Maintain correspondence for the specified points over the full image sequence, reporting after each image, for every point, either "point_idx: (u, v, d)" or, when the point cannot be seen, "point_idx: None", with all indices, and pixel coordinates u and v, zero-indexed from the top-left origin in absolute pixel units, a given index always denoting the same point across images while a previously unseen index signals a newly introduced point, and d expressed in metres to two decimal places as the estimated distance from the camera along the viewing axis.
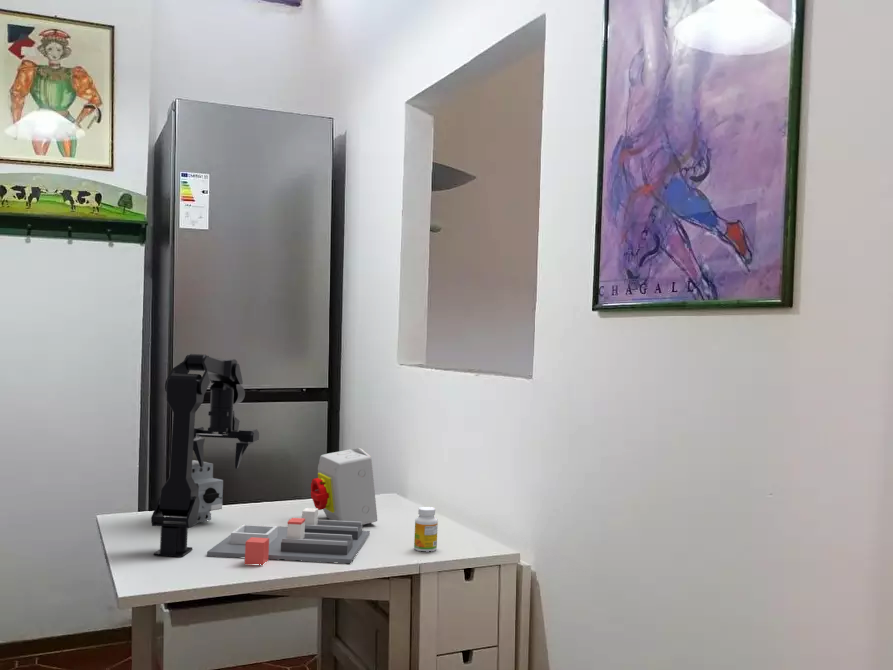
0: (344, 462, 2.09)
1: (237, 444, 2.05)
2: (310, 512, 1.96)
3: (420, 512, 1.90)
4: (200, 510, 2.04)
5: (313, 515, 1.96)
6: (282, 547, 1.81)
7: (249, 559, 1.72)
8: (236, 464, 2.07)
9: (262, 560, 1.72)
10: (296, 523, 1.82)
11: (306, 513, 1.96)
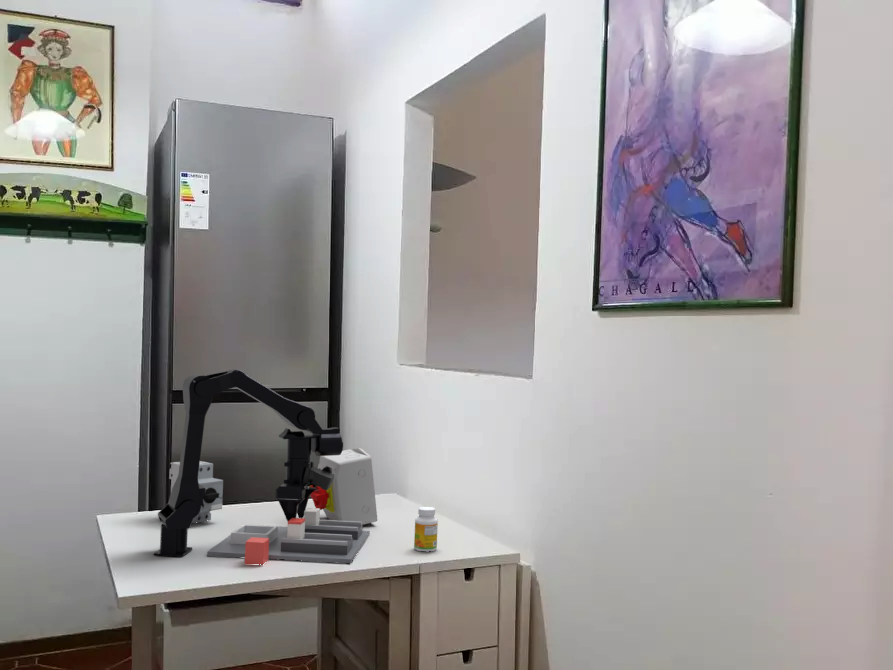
0: (344, 462, 2.09)
1: None
2: (312, 512, 1.96)
3: (420, 512, 1.90)
4: (200, 510, 2.04)
5: (315, 515, 1.96)
6: (282, 547, 1.81)
7: (249, 559, 1.72)
8: None
9: (262, 560, 1.72)
10: (296, 523, 1.82)
11: (308, 513, 1.96)
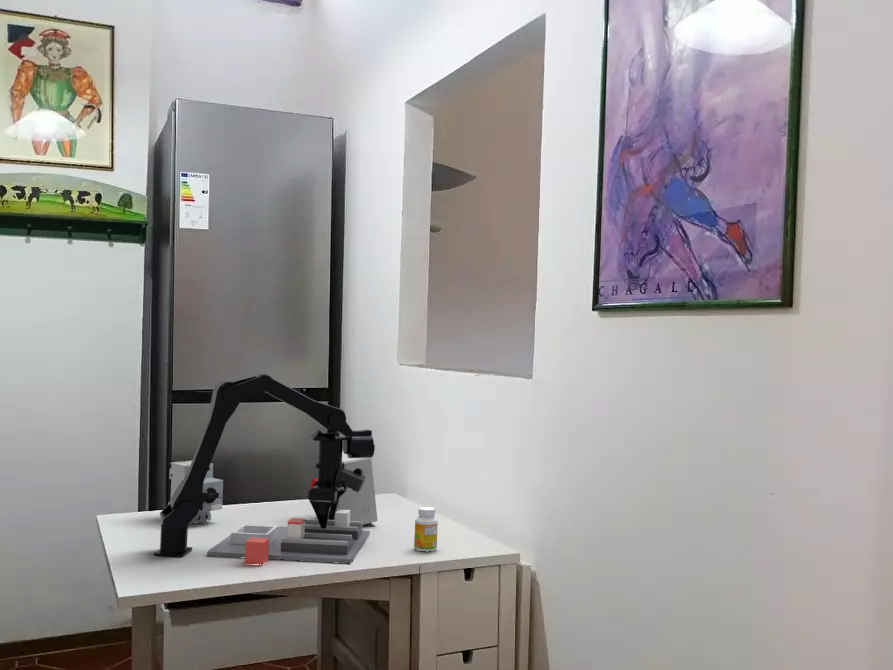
0: (344, 462, 2.09)
1: None
2: (343, 514, 1.96)
3: (420, 512, 1.90)
4: (200, 510, 2.04)
5: (346, 517, 1.95)
6: (282, 547, 1.81)
7: (249, 559, 1.72)
8: None
9: (262, 560, 1.72)
10: (296, 523, 1.82)
11: (339, 515, 1.96)
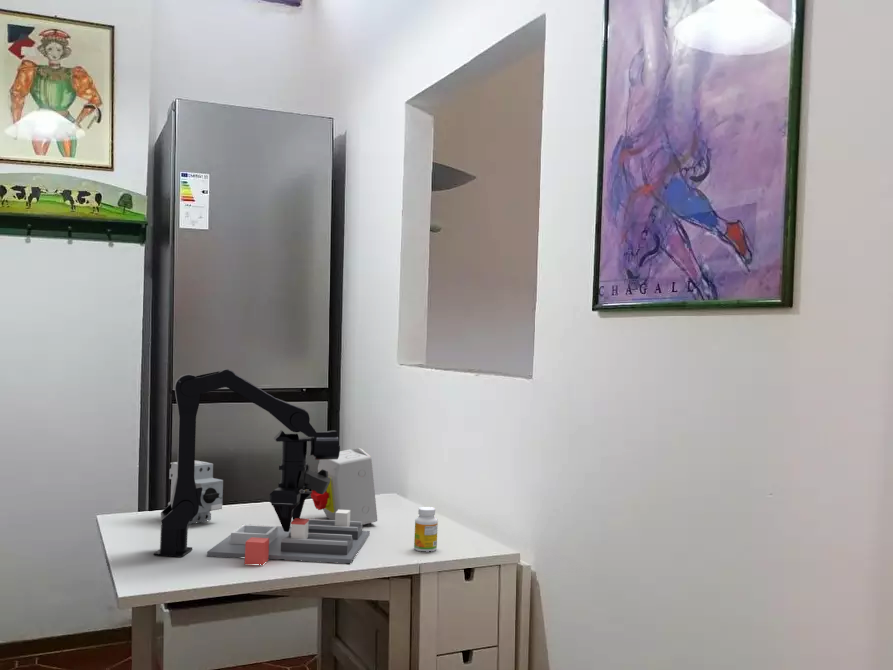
0: (344, 462, 2.09)
1: None
2: (343, 514, 1.96)
3: (420, 512, 1.90)
4: (200, 510, 2.04)
5: (346, 517, 1.95)
6: (282, 547, 1.81)
7: (249, 559, 1.72)
8: None
9: (262, 560, 1.72)
10: (300, 523, 1.82)
11: (339, 515, 1.96)
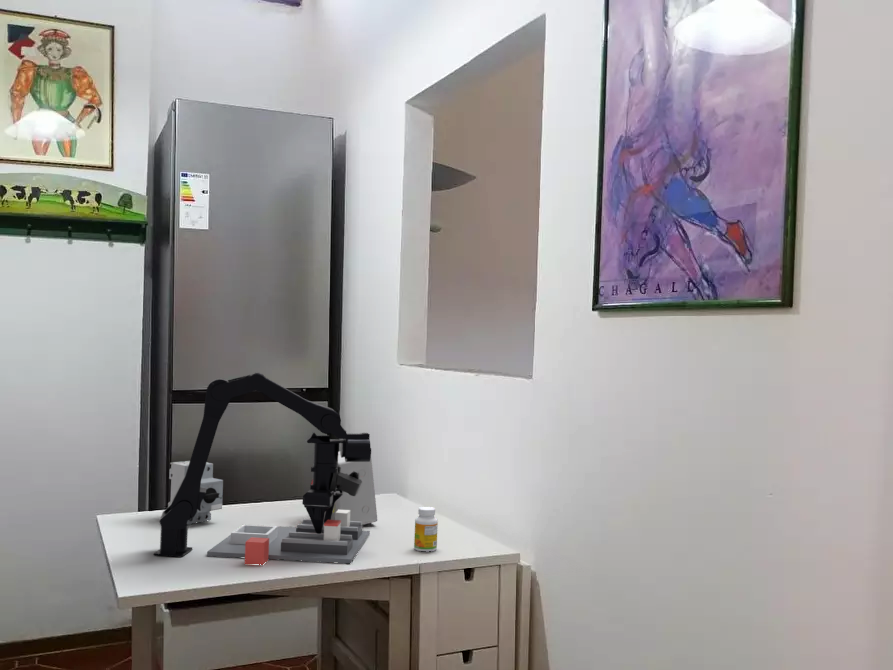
0: (344, 462, 2.09)
1: None
2: (343, 514, 1.96)
3: (420, 512, 1.90)
4: None
5: (346, 517, 1.95)
6: (282, 547, 1.81)
7: (249, 559, 1.72)
8: None
9: (262, 560, 1.72)
10: (332, 525, 1.81)
11: (339, 515, 1.96)
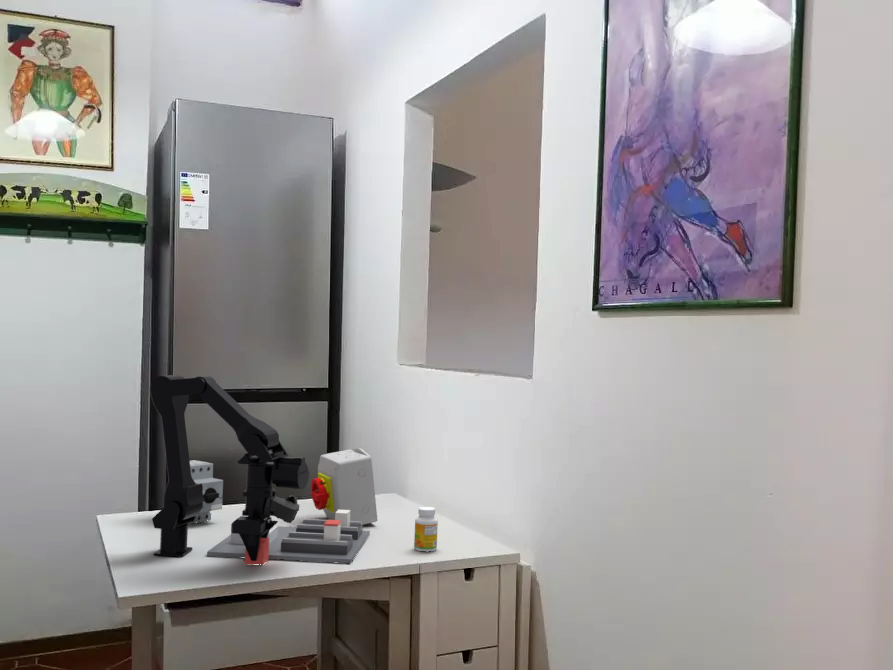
0: (344, 462, 2.09)
1: None
2: (343, 514, 1.96)
3: (420, 512, 1.90)
4: None
5: (346, 517, 1.95)
6: (282, 547, 1.81)
7: (249, 559, 1.72)
8: None
9: (262, 560, 1.72)
10: (332, 525, 1.81)
11: (339, 515, 1.96)
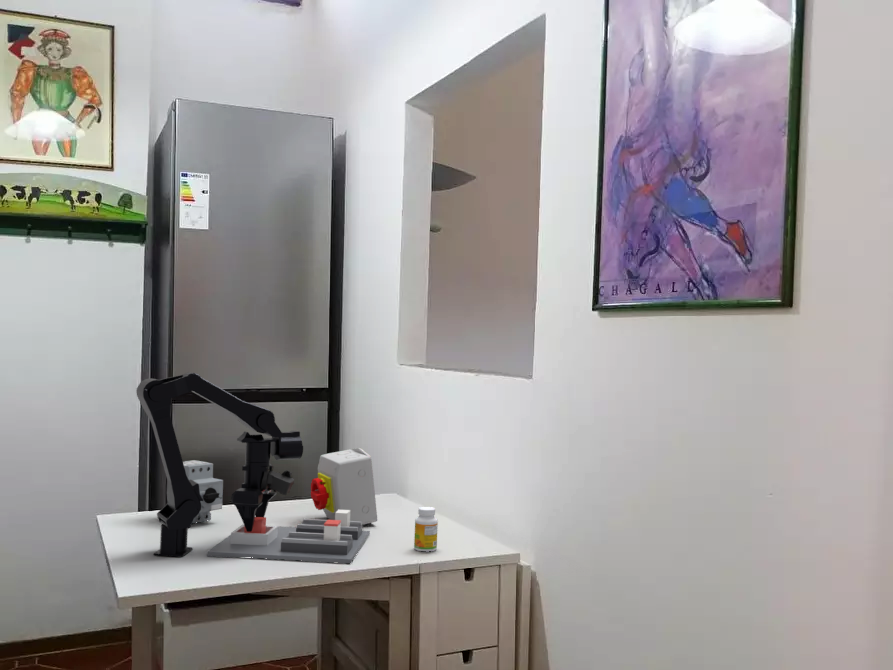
0: (344, 462, 2.09)
1: None
2: (343, 514, 1.96)
3: (420, 512, 1.90)
4: (200, 510, 2.04)
5: (346, 517, 1.95)
6: (282, 547, 1.81)
7: None
8: None
9: None
10: (332, 525, 1.81)
11: (339, 515, 1.96)
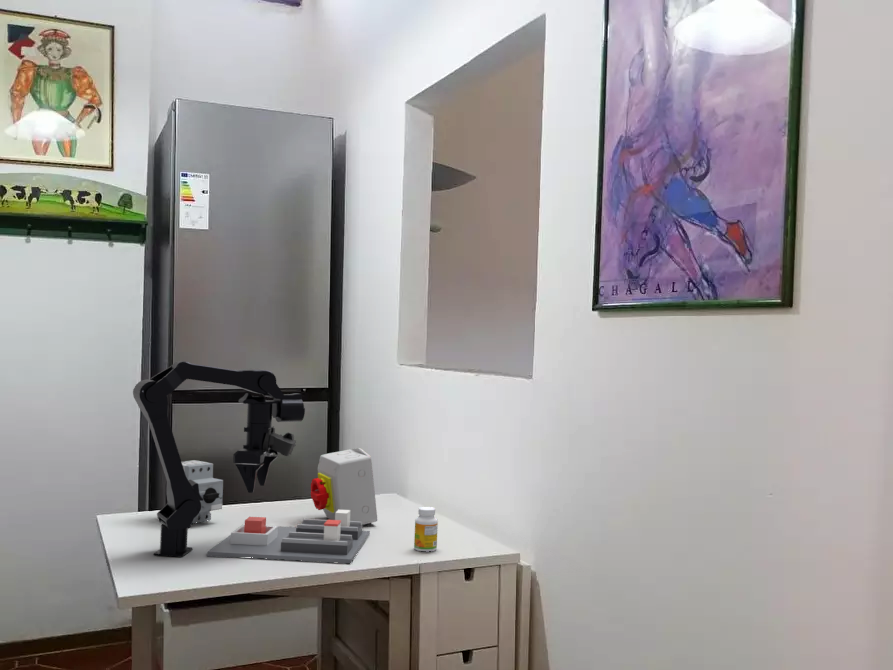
0: (344, 462, 2.09)
1: None
2: (343, 514, 1.96)
3: (420, 512, 1.90)
4: (200, 510, 2.04)
5: (346, 517, 1.95)
6: (282, 547, 1.81)
7: None
8: None
9: None
10: (332, 525, 1.81)
11: (339, 515, 1.96)
